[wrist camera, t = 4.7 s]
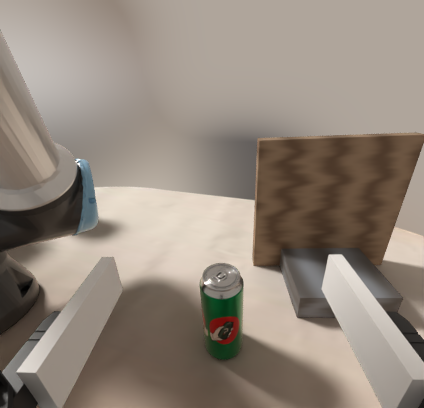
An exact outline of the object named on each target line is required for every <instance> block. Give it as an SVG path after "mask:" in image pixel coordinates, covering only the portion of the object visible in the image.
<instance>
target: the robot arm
mask: <svg viewBox="0 0 424 408" xmlns="http://www.w3.org/2000/svg"><path fill="white" fill-rule="evenodd" d="M97 224H98V210H97V203H96V199H95V190H94V185H93V180H92V174H91V170H90V166H89V163H88V162H87V161H86V160H80V159H74V157H73V156H72V154H71V153H70V152H69V151H68V150H67V149H65V148H64V147H63V146H61V145H59V144H57V143H54V142H53V141H52V139H51V137H50V134H49V132H48V130H47V128H46V126H45V124H44V121H43V119H42V117H41V115H40V113H39V111H38V109H37V107H36V105H35V103H34V100H33V98H32V96H31V94H30V92H29V90H28V88H27V86H26V83H25V81H24V79H23V77H22V75H21V73H20V71H19V68H18V66H17V64H16V62H15V60H14V58H13V56H12V54H11V51H10V49H9V47H8V45H7V43H6V41H5V39H4V37H3V35H2V32H1V30H0V334H1V333H2V332H4V331H5V330H7V329H8V328H9V327H11V326H12V325H13V324H15V323H16V322H17V321H18V320H19V319H20V318H22V317H23V316H24V315H25V314H26V313H27V312H28V310H29V309H30V308H31V307H32V306H33V304H34V303H35V301H36V299H37V297H38V295H39V285H38V283H37V281H36V279H35V277H34V275H33V274H32V273H31V272H30V271H28V270H27V269H26V268H25V267H23V266H22V265H21V264H20V263H18V262H17V261H16V260H14V259H13V258H12V257H11V256H9V255H8V253H7V251H8V250H11V249H16V248H20V247H24V246H28V245H32V244H36V243H40V242H44V241H48V240H53V239H57V238H61V237H65V236H69V235H77V234H79V233H81V232H84V231H88V230H91V229H93V228H94V227H96V225H97ZM122 291H123V288H122V284H121V281H120V277H119V274H118V270H117V267H116V263H115V260H114V257H102V258H101V259H100V260H99V262H98V263H97V264H96V266H95V267H94V268H93V270H92V271H91V272H90V274H89V275H88V276H87V278H86V279H85V280H84V282H83V283H82V284H81V286H80V287H79V288H78V290H77V291H76V293H75V294H74V295H73V297H72V298H71V299H70V301H69V302H68V303H67V305H66V306H65V307H64V309H63V310H62V311H54V312H53V313H52V314H51V315H49V316H48V317H47V318H46V319H44V320H43V321H42V323H41V324H40V325H39V326H38V328H37V329H36V330H35V333H33V334H32V335H31V336H30V338H29V339H28V341H26V343H25V344H24V345H23V346H22V348H21V349H20V350H19V351H18V353H17V354H16V355H15V356H14V358H13V359H12V360H11V361H10V363H9V364H8V365H7V366H6V368H5V369H4V370H3V371H2V372H1V370H0V408H36V406H37V404H38V405H39V407H40V408H63V406H64V404H65V402H66V400H67V398H68V396H69V394H70V392H71V390H72V388H73V386H74V385H75V383H76V381H77V379H78V377H79V375H80V373H81V371H82V369H83V367H84V365H85V363H86V361H87V359H88V357H89V355H90V353H91V351H92V349H93V347H94V346H95V344H96V342H97V340H98V338H99V336H100V334H101V332H102V330H103V328H104V326H105V324H106V322H107V320H108V318H109V316H110V314H111V312H112V310H113V308H114V307H115V305H116V303H117V301H118V299H119V297H120V295H121V293H122ZM322 291H323V293H324V295H325V297H326V299H327V301H328V303H329V305H330V307H331V309H332V311H333V313H334V315H335V317H336V318H337V320H338V322H339V324H340V326H341V328H342V330H343V332H344V334H345V336H346V338H347V340H348V342H349V344H350V346H351V348H352V350H353V352H354V353H355V355H356V357H357V359H358V361H359V363H360V365H361V367H362V369H363V371H364V373H365V375H366V377H367V379H368V381H369V383H370V385H371V386H372V388H373V390H374V392H375V394H376V396H377V398H378V400H379V402H380V404H381V406H382V408H424V339H423V338H422V337H421V336H420V335H418V332H417V331H416V330H415V329H414V327H413V326H412V325H411V324H410V323H409V321H407V320H406V319H405V318H404V317H402V316H401V315H400V314H398V313H397V312H385V311H384V309H383V308H382V307H381V305H380V304H379V303H378V301H377V300H376V299H375V297H374V296H373V295H372V293H371V292H370V291H369V289H368V288H367V287H366V285H365V284H364V283H363V282H362V280H361V279H360V278H359V276H358V275H357V274H356V272H355V271H354V270H353V268H352V267H351V266H350V264H349V263H348V262H347V260H346V259H345V258H344V256H343V255H342V254H335V255H329V256H328V260H327V265H326V270H325V275H324V279H323V284H322Z"/></svg>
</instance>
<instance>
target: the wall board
mask: <svg viewBox="0 0 424 408" xmlns="http://www.w3.org/2000/svg"><path fill="white" fill-rule="evenodd" d="M423 143H424V134H421V133H391V134H363V135H335V136H308V137H280V138H258V142H257V165H256V167H257V168H256V190H255V212H254V235H253V264H254V266H271V265H280V268H281V271H282V274H283V277H284V280H285V283H286V286H287V289H288V292H289V295H290V298H291V301H292V304H293V307H294V310H295V313H296V316H297V317H327V318H336V317H335V315H334V313H333V311H332V309H331V307H330V305H329V303H328V301H327V299H326V297H325V295H324V293H323V291H322V284H323V279H324V275H325V270H326V265H327V260H328V256H329V255H335V254H342V255H343V256H344V258H345V259H346V260H347V262H348V263H349V264H350V266H351V267H352V268H353V270H354V271H355V272H356V274H357V275H358V276H359V278H360V279H361V280H362V282H363V283H364V284H365V285H366V287H367V288H368V289H369V291H370V292H371V293H372V295H373V296H374V297H375V299H376V300H377V301H378V303H379V304H380V305H381V307H382V308H383V309H384V311H385V312H397V311H398V309H399V307H400V304H401V302H402V300H403V297H402V296H401V295H400V294H399V293H398V292H397V291H396V289H395V288H394V287H393V286H392V285H391V284H390V283H389V282H388V280H387V279H386V278H385V277H384V276H383V275H382V274H381V273H380V271H379V270H378V269H377V268H376V267H375V266H374V265H381V263H382V260H383V257H384V255H385V252H386V249H387V246H388V243H389V240H390V237H391V235H392V232H393V229H394V226H395V223H396V220H397V217H398V215H399V212H400V209H401V206H402V203H403V200H404V197H405V195H406V192H407V189H408V186H409V183H410V180H411V177H412V174H413V172H414V169H415V166H416V163H417V160H418V158H419V155H420V152H421V149H422V146H423Z"/></svg>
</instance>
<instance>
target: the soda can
mask: <svg viewBox="0 0 424 408" xmlns="http://www.w3.org/2000/svg"><path fill="white" fill-rule="evenodd" d="M200 295H201V307H202V318H203V329H204V341H205V346H206V349H207V351H208V352H209V353H210V354H211V355H212V356H213V357H215V358H217V359H223V360H225V359H230V358H232V357H234V356H235V355H237V354H238V352H239V351H240V349H241V346H242V326H243V279H242V277H241V276H240V273H239V271H238V270H237V269H236V268H235V267H234V266H232V265H230V264H226V263H217V264H213V265H211V266H209V267H208V268H206V269H205V271H204V272H203V275H202V278H201V280H200Z"/></svg>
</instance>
